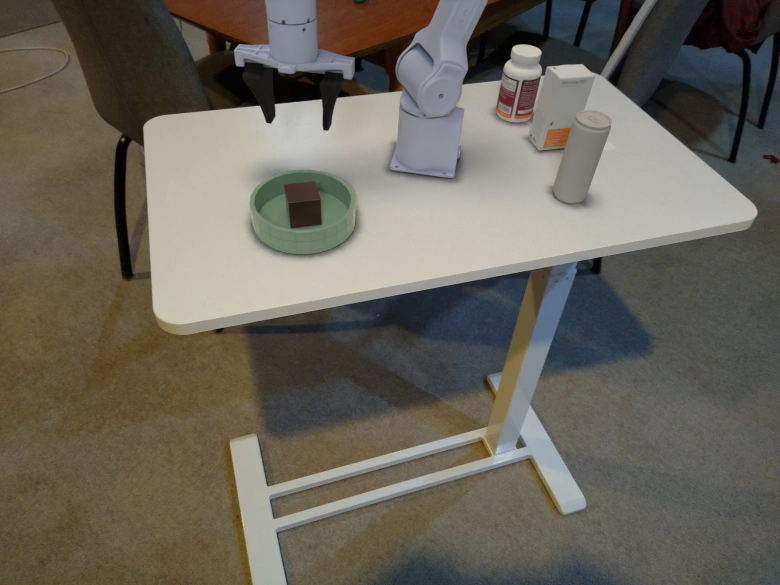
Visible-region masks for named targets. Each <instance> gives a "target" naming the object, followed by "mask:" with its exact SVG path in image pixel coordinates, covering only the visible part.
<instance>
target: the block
mask: <svg viewBox="0 0 780 585" xmlns="http://www.w3.org/2000/svg"><path fill="white" fill-rule="evenodd" d="M284 190H285V201H286V210H287V214H288V219H289V223H290V227H291V228H298V227H306V226H314V225H321V224H322V215H321V198H320V195H319V192H318V188H317V185H316V182H315V181H312V182H302V183H293V184H284Z"/></svg>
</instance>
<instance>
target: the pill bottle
mask: <svg viewBox="0 0 780 585" xmlns="http://www.w3.org/2000/svg"><path fill="white" fill-rule="evenodd" d="M541 57H542V50H541V49H540V48H539V47H537V46H533V45H531V44H516V45H514V46H513V47H512V48H511V52H510V59H508V60H507V61H506V63H505V64H504V66H503V70H502V75H501V80H500V86H499V91H498V95H497V96H498V97H497V102H496V108H495V112H496V115H497V116H498V117H499V118H500V119H502V120H504V121H505V122H512V123H523V122H524V123H525V122H527V121H528V120H530V119H531V118H532V116H533V113H534V108H535V104H536V99H537V95H538V90H539V87H540V83H541V79H542V74H543V67H542V65H541V64H540V61H541Z"/></svg>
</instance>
